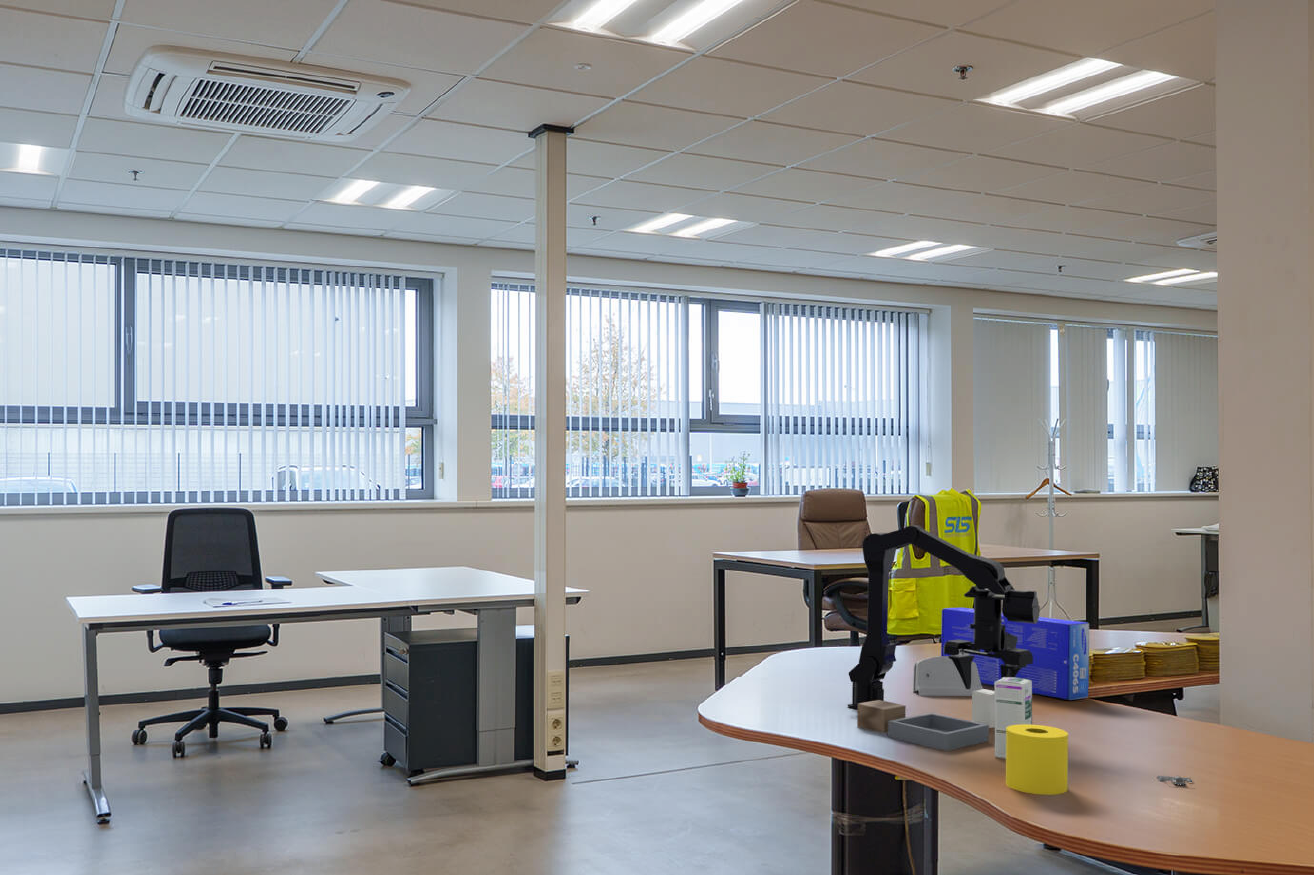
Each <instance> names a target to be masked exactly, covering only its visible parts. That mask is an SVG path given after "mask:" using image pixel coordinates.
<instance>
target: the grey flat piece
mask: <svg viewBox="0 0 1314 875" xmlns="http://www.w3.org/2000/svg"><path fill="white" fill-rule="evenodd" d="M1157 778H1158V781H1159V782H1163V781H1167V780H1172V781H1171V782H1172V784H1173V783H1176V784H1179V785H1180V784H1181V785H1180V786H1182V785H1183V786H1185V785H1186V786H1187V783H1188V782H1194V781H1193V779H1191V777H1182V776H1179V775H1176V776H1167V775H1166V776H1165V775H1157V776H1156V779H1157ZM1184 781H1188V782H1184ZM1176 784H1175V785H1176ZM1184 784H1185V785H1184ZM1179 785H1178V786H1179Z"/></svg>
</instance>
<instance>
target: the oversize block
mask: <svg viewBox="0 0 1314 875" xmlns="http://www.w3.org/2000/svg"><path fill="white" fill-rule="evenodd" d="M856 716H857V721H856V722H857V723H856V724H857V728H861V729H865V730H869V731H874V732H878V733H882V734H887V733H888V721H891V720H896V719H902V718H906V705H904V704H900V703H895V702H890V701H886V700H884V701H882V700H876V701H870V702H864V703H859V704H858V709H857V715H856Z"/></svg>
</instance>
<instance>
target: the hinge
mask: <svg viewBox="0 0 1314 875" xmlns="http://www.w3.org/2000/svg"><path fill="white" fill-rule="evenodd" d="M912 678H913V680H912V681H913V684H912V692H913V693H918V696H920V697H921V696H922V697H923V696H927V697H928V696H929V697H931V696H933V697H936V696H937V697H941V696H942V697H945V696H946V697H950V696H951V697H953V696H954V697H972V691H977V690H982V689H984V688H983V686H982V684H981V682H980V678H979V674H978V670H977V665H976V663H975V662H973V661H972V664H971V688H970V689H966V688H965V685H964V683H963V681H962V679H961V676H960V674H959V672H958V670H957V668H956V666H955V665H954V663H953V661H952V659H949V657H948V656H941V655H939V656H938V655H937V656H931V657H928V658H924V659H921V660H917V662H915V663H914V665H913V677H912Z"/></svg>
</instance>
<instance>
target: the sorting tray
mask: <svg viewBox="0 0 1314 875" xmlns="http://www.w3.org/2000/svg"><path fill="white" fill-rule="evenodd" d="M989 729H990V728H989V725H986V724H981V723H977V722H972V720H967V719H963V718H956V717H952V716H948V715H943V714H939V713H933V712H927V713H923V714H918V715H913V716H908V717H907V716H906V717H905V718H902V719H896V720H891V721H888V732H887V733H888V736H887V737H888V738H891V739H895V740H900V741H903V742H908V743H912V744H915V745H919V746H923V747H929V748H931V749H932V748H933V749H935V750H940V751H944V752H948V751H951V750H953V751H954V750H956V749H961V748H964V747H965V748H966V747H970V746H973V745H974V746H975V745H977V744H982V743H986V742H989V740H990V739H989V737H990V736H989V733H990V732H989Z"/></svg>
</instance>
